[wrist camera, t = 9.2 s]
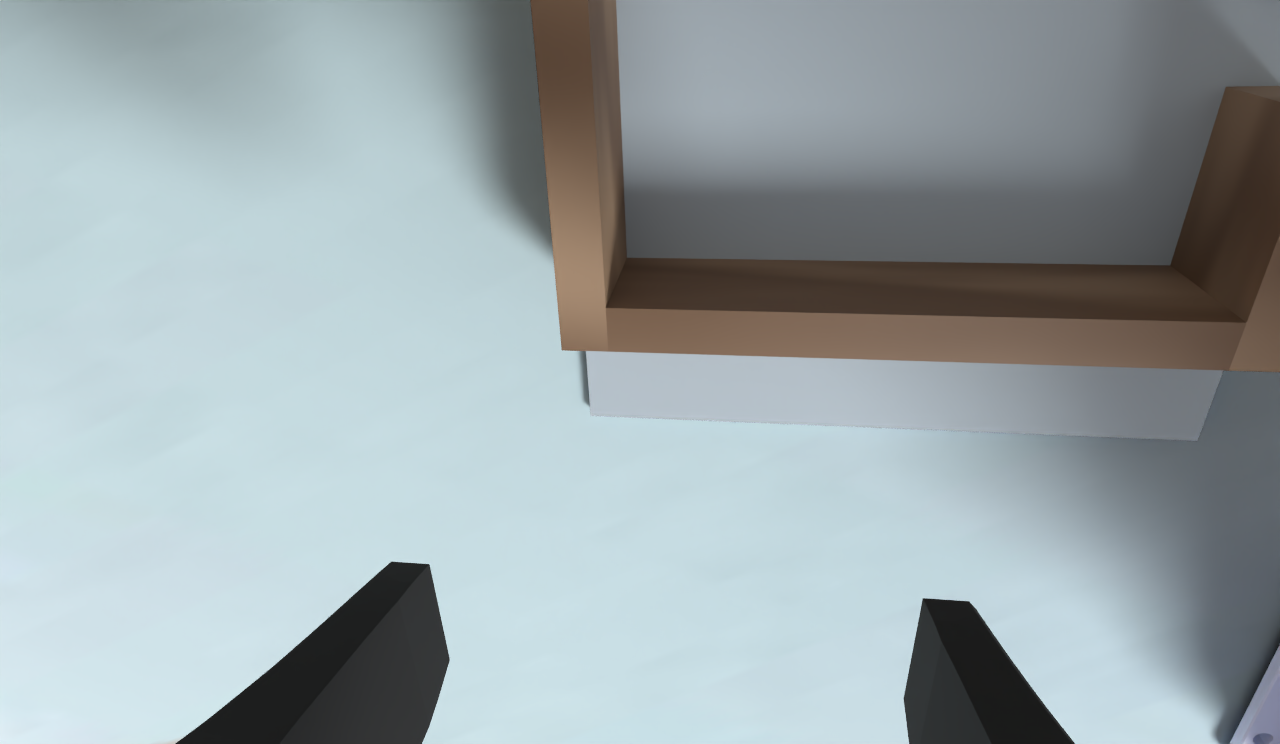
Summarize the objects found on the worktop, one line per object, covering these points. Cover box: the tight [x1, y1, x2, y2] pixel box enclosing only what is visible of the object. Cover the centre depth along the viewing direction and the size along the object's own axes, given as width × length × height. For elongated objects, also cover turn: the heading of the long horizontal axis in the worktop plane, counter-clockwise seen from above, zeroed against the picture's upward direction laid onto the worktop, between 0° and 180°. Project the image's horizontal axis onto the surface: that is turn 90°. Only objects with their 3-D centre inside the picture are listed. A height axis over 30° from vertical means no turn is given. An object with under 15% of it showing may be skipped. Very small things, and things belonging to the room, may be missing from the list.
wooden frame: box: [530, 0, 1280, 372], centre depth 14 cm, size 11×14×3 cm
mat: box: [586, 0, 1280, 441], centre depth 16 cm, size 18×15×1 cm
